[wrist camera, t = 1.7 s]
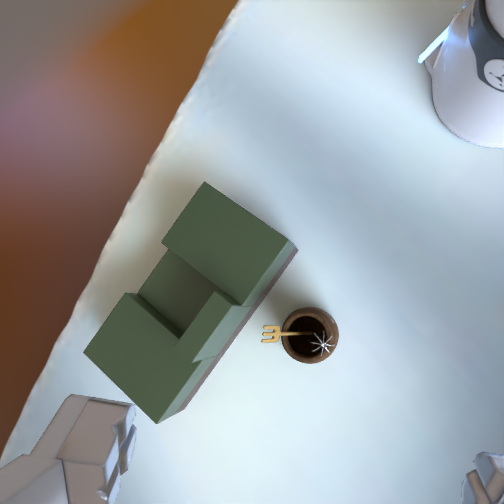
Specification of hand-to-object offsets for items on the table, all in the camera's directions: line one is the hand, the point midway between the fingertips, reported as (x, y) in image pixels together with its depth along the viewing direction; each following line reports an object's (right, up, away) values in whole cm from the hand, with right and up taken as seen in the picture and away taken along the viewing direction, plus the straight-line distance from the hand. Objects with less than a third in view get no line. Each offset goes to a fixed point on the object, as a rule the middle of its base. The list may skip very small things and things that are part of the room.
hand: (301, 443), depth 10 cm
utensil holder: (+6, -5, +37) cm, 38 cm away
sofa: (-7, -2, +41) cm, 41 cm away
